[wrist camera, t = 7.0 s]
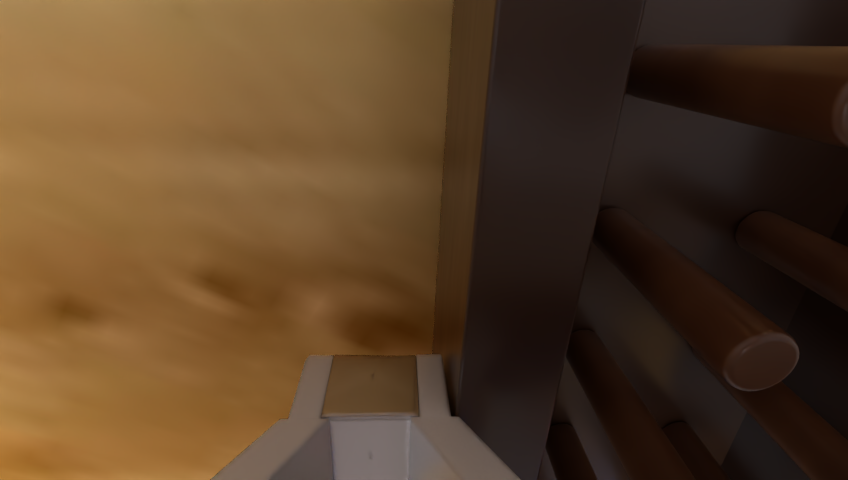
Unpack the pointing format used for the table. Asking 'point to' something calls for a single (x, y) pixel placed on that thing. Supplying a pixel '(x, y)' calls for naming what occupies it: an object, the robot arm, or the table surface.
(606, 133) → the rack
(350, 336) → the table surface
